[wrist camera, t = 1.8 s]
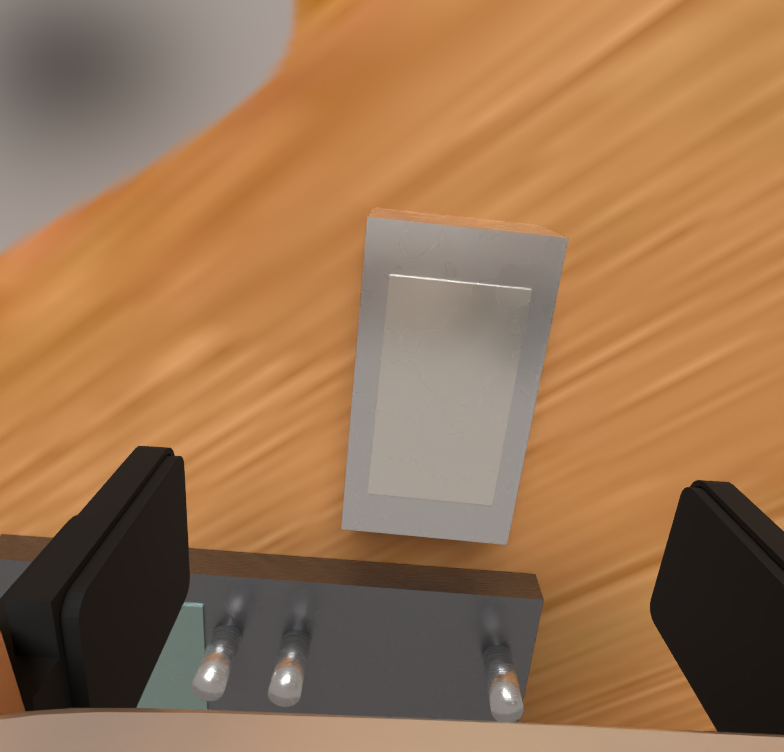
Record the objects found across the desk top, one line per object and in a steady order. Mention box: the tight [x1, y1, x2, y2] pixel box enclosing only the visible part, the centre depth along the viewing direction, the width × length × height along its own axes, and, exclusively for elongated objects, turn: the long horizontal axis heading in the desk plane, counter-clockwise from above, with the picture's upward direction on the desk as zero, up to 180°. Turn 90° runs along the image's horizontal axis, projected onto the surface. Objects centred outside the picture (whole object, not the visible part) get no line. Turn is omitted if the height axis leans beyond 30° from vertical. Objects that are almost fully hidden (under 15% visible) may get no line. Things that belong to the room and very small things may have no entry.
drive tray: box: [0, 534, 544, 722], centre depth 24 cm, size 22×14×4 cm, turn 86°
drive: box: [341, 207, 568, 545], centre depth 19 cm, size 6×10×4 cm, turn 174°
